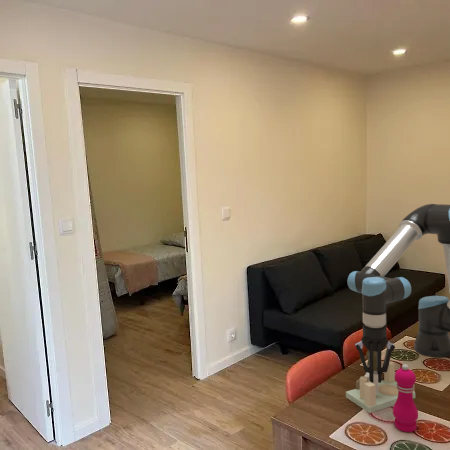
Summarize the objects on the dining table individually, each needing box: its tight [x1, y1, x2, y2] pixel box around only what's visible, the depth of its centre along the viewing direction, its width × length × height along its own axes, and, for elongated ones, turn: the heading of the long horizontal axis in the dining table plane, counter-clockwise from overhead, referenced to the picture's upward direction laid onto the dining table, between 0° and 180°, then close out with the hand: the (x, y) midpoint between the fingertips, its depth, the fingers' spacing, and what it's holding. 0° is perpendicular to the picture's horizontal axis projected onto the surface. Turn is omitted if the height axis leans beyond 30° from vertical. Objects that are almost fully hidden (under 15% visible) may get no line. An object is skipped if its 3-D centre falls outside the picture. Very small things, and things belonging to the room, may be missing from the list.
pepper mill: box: [392, 364, 419, 433], centre depth 137 cm, size 7×7×20 cm
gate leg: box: [359, 372, 370, 399], centre depth 154 cm, size 8×2×7 cm, turn 148°
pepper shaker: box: [365, 350, 383, 381], centre depth 169 cm, size 6×6×11 cm
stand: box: [345, 360, 416, 414], centre depth 155 cm, size 20×12×10 cm, turn 114°
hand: (375, 390), depth 153 cm, fingers closed
